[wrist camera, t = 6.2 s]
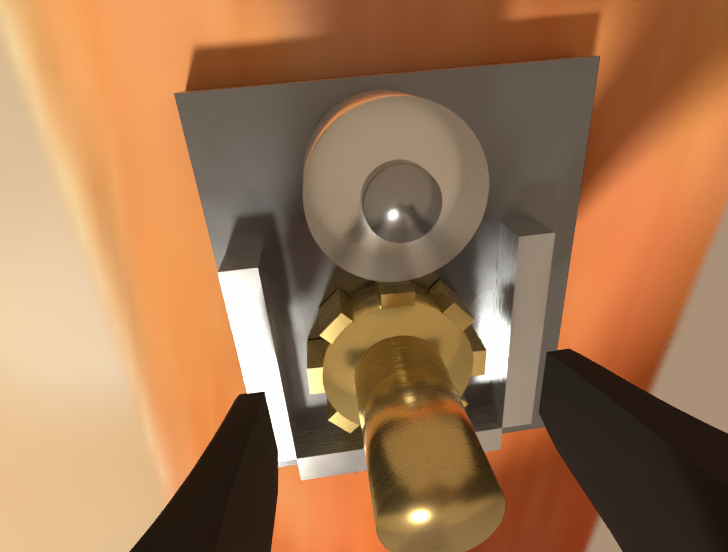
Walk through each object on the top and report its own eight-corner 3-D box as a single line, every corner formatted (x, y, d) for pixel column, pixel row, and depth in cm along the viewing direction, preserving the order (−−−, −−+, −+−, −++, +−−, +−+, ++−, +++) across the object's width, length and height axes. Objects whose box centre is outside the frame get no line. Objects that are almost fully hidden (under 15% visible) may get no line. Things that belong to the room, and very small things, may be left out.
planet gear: (464, 397, 15) (548, 577, 10) (315, 414, 15) (320, 612, 10) (475, 262, 13) (592, 402, 8) (299, 277, 13) (293, 438, 7)
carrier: (533, 408, 17) (594, 500, 14) (269, 447, 17) (259, 555, 13) (578, 56, 12) (700, 54, 8) (184, 91, 11) (124, 104, 7)
